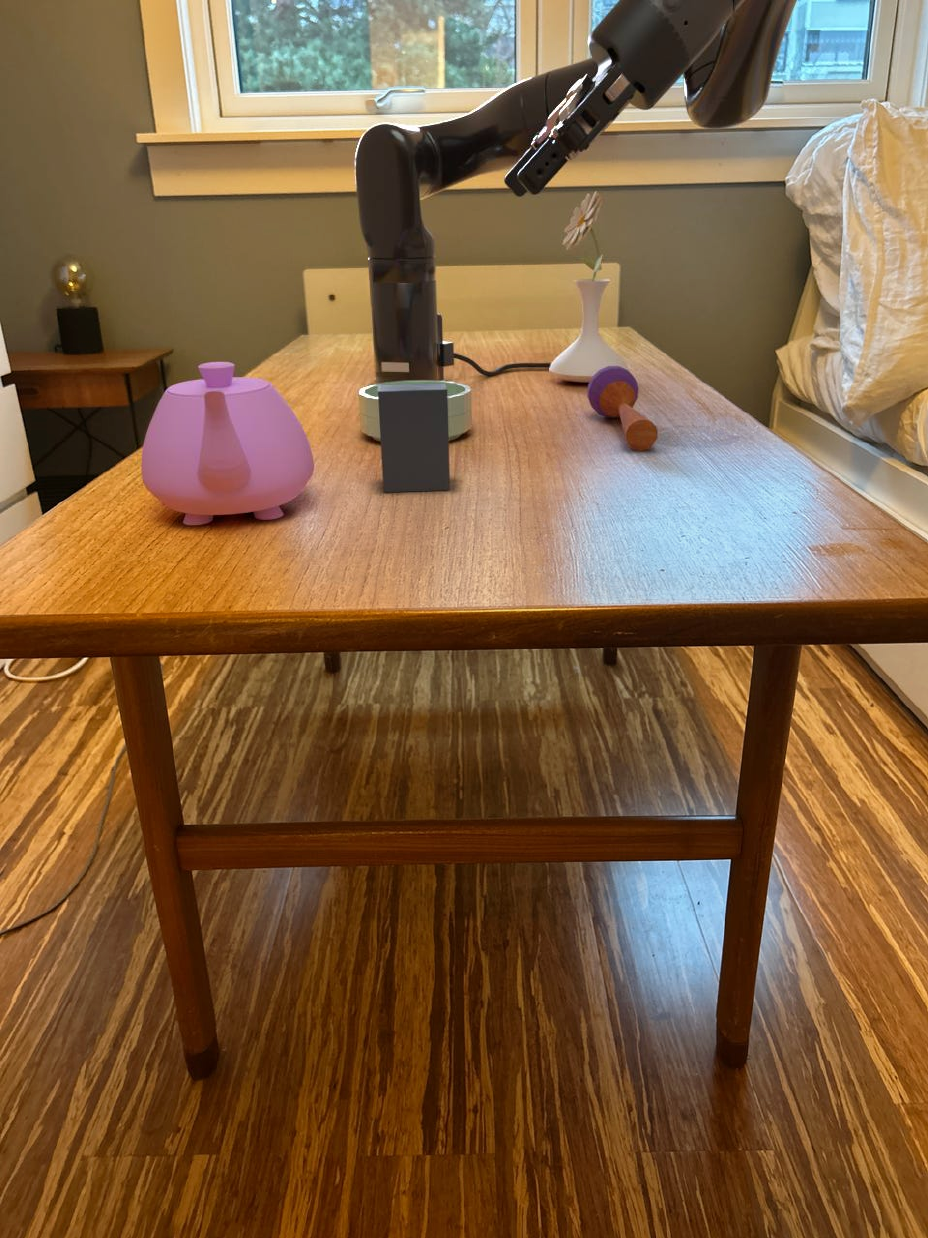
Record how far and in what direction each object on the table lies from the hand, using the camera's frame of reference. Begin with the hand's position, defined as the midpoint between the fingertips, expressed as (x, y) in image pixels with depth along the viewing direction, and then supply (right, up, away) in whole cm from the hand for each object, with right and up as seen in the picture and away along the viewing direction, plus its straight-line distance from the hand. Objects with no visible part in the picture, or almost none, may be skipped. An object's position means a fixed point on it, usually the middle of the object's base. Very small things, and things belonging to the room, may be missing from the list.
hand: (517, 188), depth 76 cm
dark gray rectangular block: (-9, -24, +6) cm, 27 cm away
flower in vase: (+13, -2, +54) cm, 56 cm away
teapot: (-24, -27, +1) cm, 37 cm away
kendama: (+13, -15, +26) cm, 33 cm away
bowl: (-10, -16, +26) cm, 32 cm away
